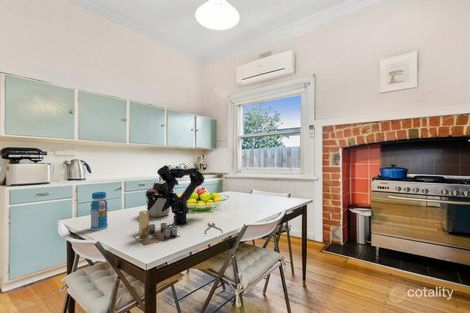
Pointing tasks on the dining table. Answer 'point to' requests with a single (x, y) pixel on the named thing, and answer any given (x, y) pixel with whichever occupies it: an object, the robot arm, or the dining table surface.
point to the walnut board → (152, 238)
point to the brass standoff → (143, 224)
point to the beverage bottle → (99, 211)
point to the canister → (157, 206)
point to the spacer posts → (164, 230)
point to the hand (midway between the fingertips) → (154, 210)
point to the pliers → (212, 226)
